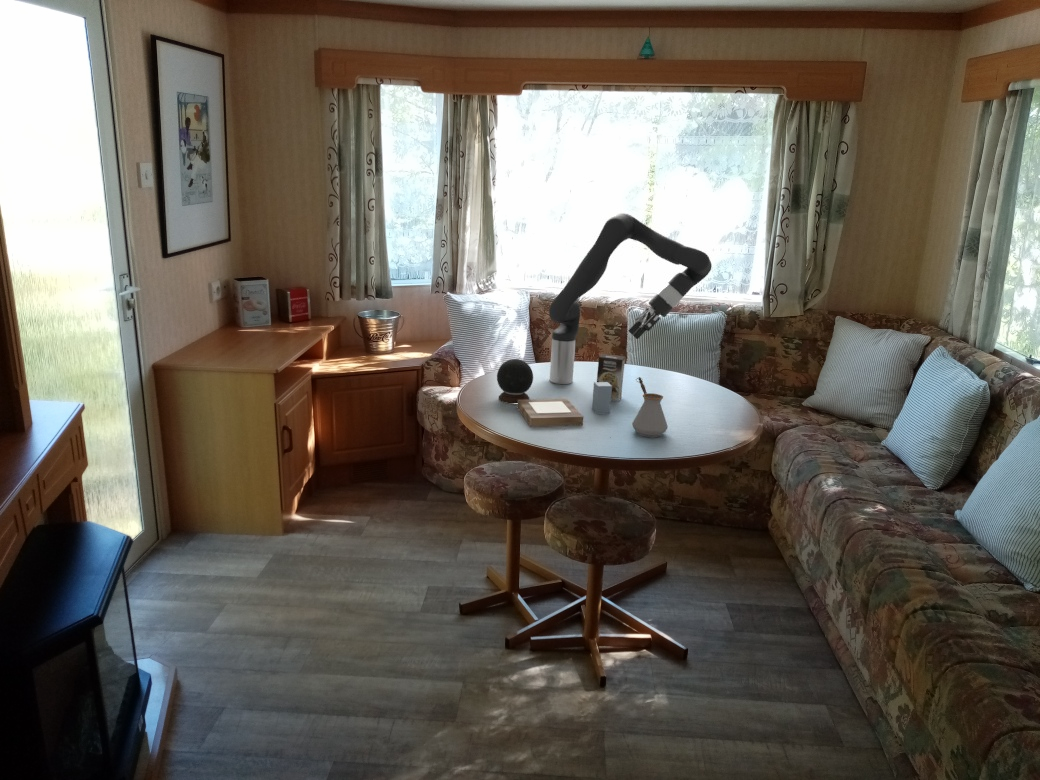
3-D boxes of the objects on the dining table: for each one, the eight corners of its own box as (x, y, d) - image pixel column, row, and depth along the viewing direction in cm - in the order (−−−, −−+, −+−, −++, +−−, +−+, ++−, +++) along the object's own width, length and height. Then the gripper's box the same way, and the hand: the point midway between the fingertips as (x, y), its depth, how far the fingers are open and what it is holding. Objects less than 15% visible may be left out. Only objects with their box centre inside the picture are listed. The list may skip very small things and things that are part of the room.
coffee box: (594, 398, 288) (597, 356, 284) (598, 394, 294) (601, 352, 290) (618, 401, 286) (622, 359, 281) (621, 397, 292) (625, 355, 287)
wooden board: (517, 407, 274) (517, 398, 273) (566, 406, 278) (566, 397, 277) (530, 426, 255) (531, 417, 254) (582, 425, 259) (583, 415, 258)
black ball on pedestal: (495, 403, 277) (496, 363, 272) (496, 393, 289) (498, 354, 285) (531, 405, 277) (534, 365, 272) (532, 394, 289) (534, 356, 285)
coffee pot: (671, 439, 250) (676, 395, 245) (637, 439, 248) (641, 395, 243) (651, 418, 270) (655, 376, 265) (619, 418, 268) (622, 376, 264)
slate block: (591, 409, 276) (593, 382, 273) (605, 408, 277) (607, 381, 274) (596, 413, 272) (598, 386, 269) (609, 413, 273) (612, 385, 270)
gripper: (653, 290, 270) (621, 324, 272) (662, 295, 256) (628, 331, 259) (668, 304, 272) (636, 338, 274) (678, 310, 258) (644, 346, 260)
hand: (632, 335), depth 266 cm, fingers open, 8 cm apart
